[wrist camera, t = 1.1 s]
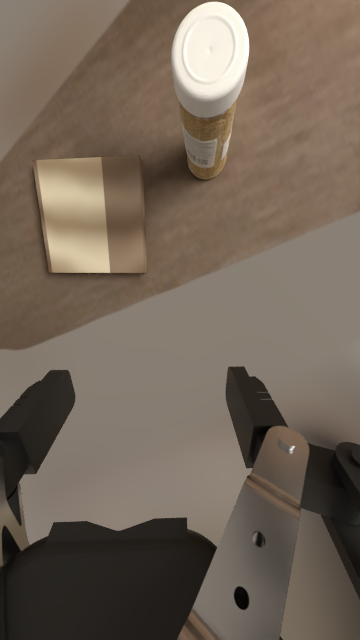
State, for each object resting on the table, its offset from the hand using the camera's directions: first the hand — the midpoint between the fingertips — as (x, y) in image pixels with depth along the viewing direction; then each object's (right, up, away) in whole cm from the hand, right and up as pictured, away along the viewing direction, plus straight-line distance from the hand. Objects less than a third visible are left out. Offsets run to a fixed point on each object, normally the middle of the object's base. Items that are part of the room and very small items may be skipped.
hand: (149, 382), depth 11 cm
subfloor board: (-9, +16, +17) cm, 25 cm away
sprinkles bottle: (+5, +22, +14) cm, 27 cm away
